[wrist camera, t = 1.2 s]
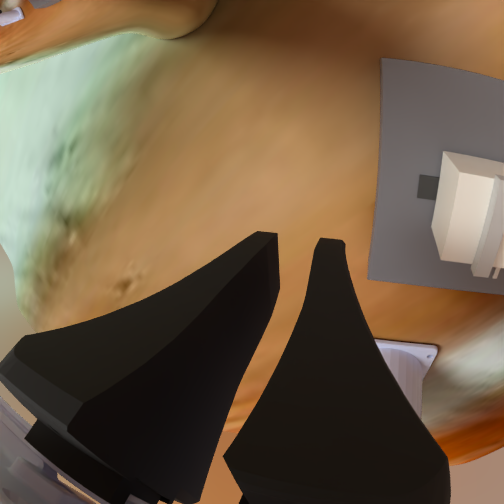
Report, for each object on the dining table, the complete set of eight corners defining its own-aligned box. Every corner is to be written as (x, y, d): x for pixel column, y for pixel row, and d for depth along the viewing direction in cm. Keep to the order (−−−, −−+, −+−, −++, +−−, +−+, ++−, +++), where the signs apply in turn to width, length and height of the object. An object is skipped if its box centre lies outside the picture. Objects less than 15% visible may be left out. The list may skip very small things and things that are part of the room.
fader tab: (494, 239, 13) (515, 281, 10) (430, 229, 14) (441, 272, 11) (513, 161, 11) (545, 190, 8) (443, 146, 12) (464, 172, 9)
